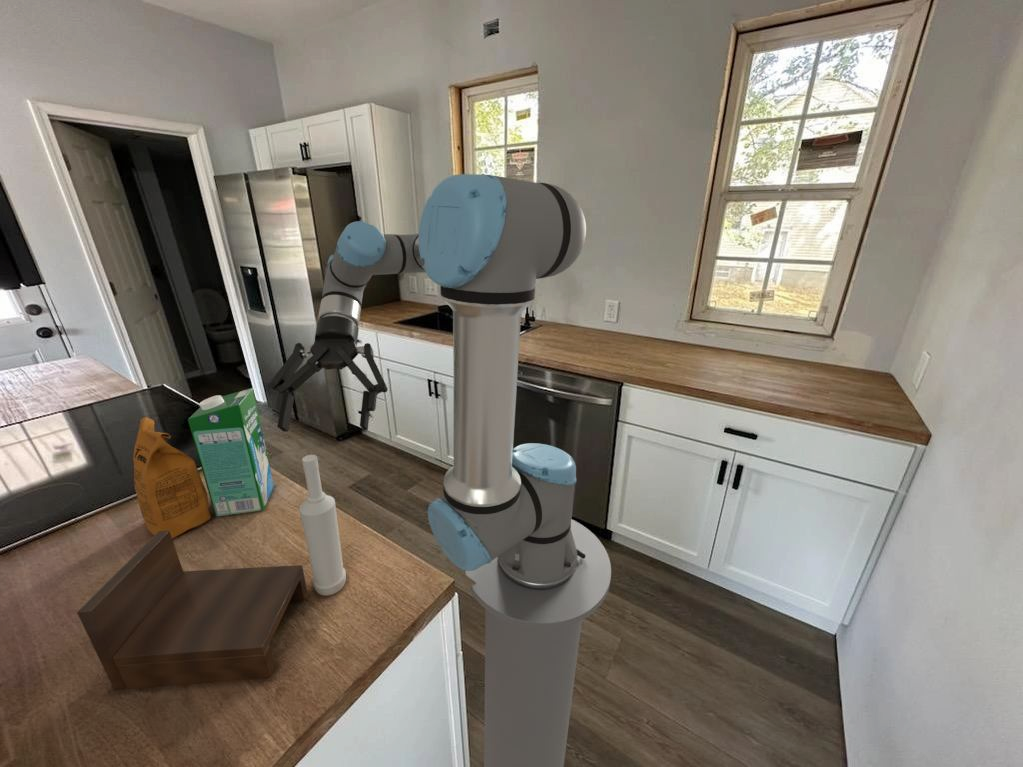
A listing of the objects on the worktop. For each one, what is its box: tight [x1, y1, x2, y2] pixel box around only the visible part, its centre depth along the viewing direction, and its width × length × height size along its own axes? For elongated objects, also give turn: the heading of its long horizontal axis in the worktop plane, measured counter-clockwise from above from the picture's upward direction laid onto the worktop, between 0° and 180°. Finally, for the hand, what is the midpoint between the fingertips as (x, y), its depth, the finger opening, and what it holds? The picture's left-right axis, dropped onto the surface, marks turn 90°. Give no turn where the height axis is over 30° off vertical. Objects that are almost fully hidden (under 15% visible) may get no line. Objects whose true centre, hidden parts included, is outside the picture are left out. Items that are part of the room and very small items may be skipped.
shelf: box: [76, 531, 308, 691], centre depth 59 cm, size 20×14×14 cm
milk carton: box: [187, 387, 275, 517], centre depth 86 cm, size 9×9×25 cm
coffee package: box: [133, 416, 212, 540], centre depth 80 cm, size 10×12×22 cm
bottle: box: [299, 454, 347, 596], centre depth 66 cm, size 5×5×25 cm
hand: (323, 428), depth 72 cm, fingers open, 13 cm apart
